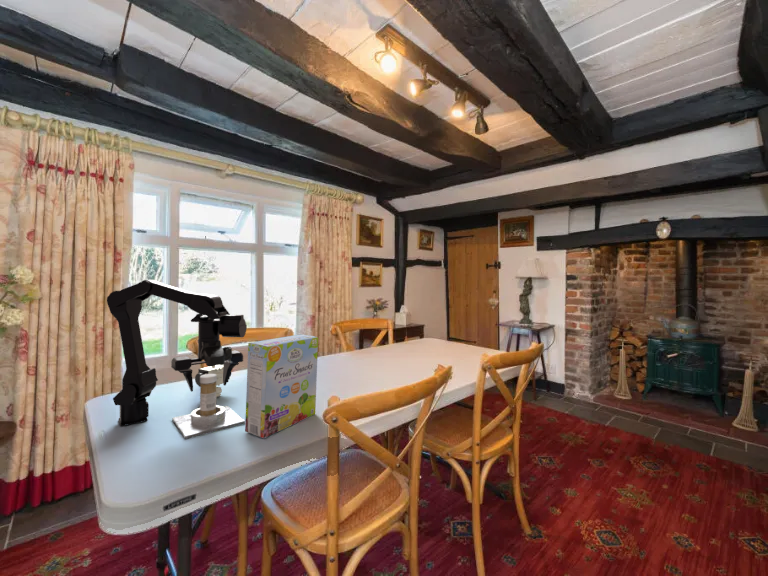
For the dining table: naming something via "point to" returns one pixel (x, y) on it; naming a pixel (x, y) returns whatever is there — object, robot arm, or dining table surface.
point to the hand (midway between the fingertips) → (208, 388)
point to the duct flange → (207, 421)
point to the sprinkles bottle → (208, 394)
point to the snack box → (280, 383)
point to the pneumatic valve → (212, 370)
